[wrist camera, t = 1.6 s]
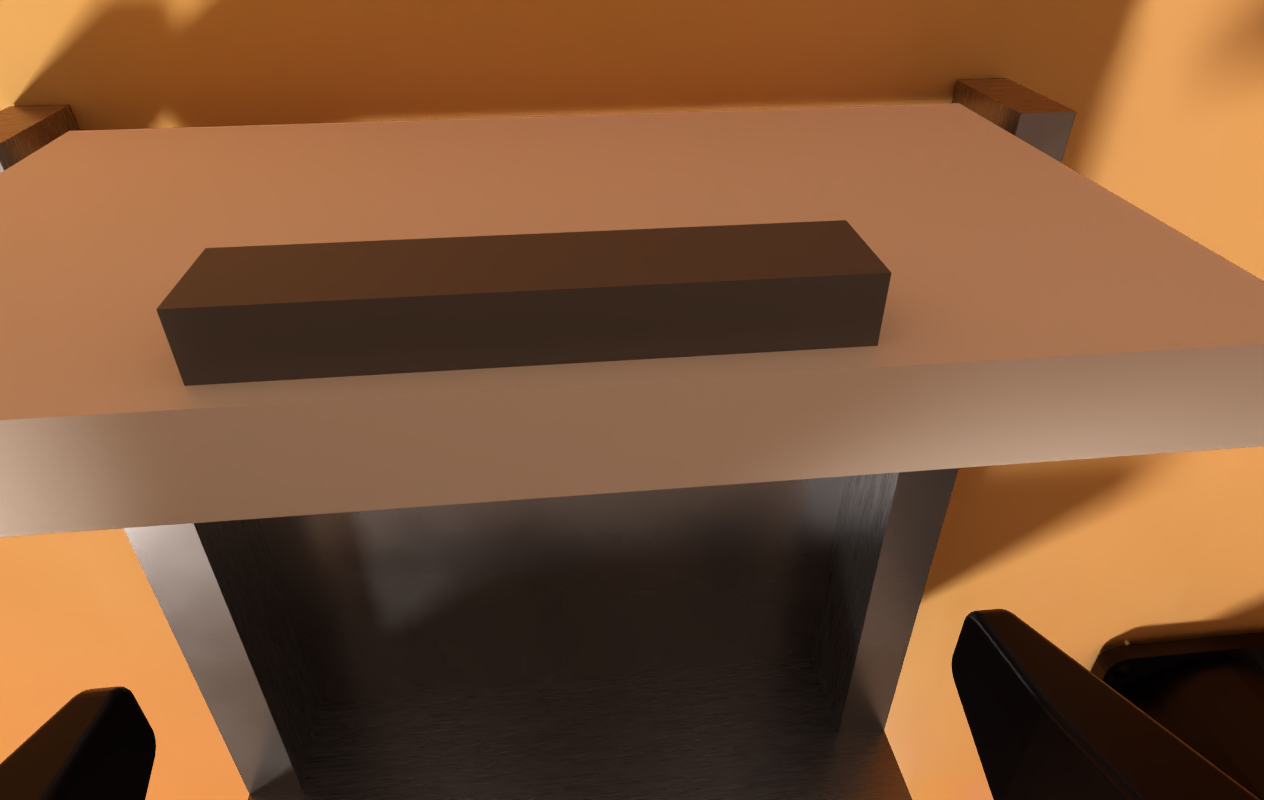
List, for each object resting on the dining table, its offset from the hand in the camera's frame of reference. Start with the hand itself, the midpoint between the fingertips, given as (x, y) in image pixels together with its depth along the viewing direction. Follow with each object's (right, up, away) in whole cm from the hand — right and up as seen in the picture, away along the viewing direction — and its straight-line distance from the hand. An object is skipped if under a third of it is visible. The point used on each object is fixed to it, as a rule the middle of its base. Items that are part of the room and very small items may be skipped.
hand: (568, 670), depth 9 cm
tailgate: (-1, +7, +3) cm, 7 cm away
